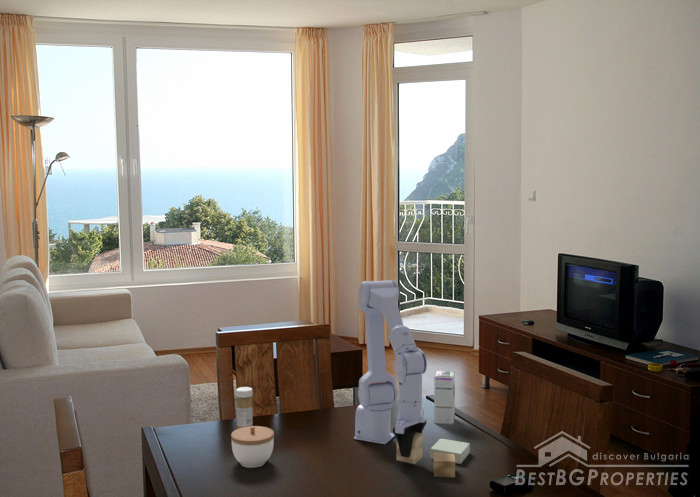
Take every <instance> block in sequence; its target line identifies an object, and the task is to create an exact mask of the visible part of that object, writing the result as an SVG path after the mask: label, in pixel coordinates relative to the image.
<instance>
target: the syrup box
mask: <svg viewBox="0 0 700 497" xmlns="http://www.w3.org/2000/svg"><path fill="white" fill-rule="evenodd" d="M455 377H456V376H455V371H450V370H435V373H434V377H433V379H434V380H433V382H434V385H433V386H434V388H433V389H434V390H433V393H434V394H433V395H434V397H433V400H434V401H433V403H434V404H433V405H434V407H433V409H434V410H433V412H434V414H433V415H434V420H433V421H434V423H435V424H440V425H441V424H442V425H454V424H455V423H454V422H455V418H456V416H455V415H456V414H455V412H456V410H455V408H456V407H455V405H456V404H455V403H456V402H455V401H456V400H455V399H456V398H455V396H456V391H455V385H456V384H455V383H456V382H455Z"/></svg>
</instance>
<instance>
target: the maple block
mask: <svg viewBox="0 0 700 497" xmlns="http://www.w3.org/2000/svg"><path fill="white" fill-rule="evenodd" d="M423 437H424V434H423V432H422V433H417V432H416V434H415V436H414V438H413V442H412V447H411V454H410V457H409V458H408V457H403V456H401V454H400V449H399V445H398V442H397V441H396V461H400V462H404V463H408V464H414V465H416V464H417V463H418V462H419V461H420V460H421V459H422V458H423V453H424V452H423V449H424V448H423V445H424V444H423V441H424V438H423Z"/></svg>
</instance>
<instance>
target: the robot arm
mask: <svg viewBox="0 0 700 497" xmlns="http://www.w3.org/2000/svg"><path fill="white" fill-rule="evenodd" d="M399 288H400V287H399V284H398V283H397V281H396V279H390V280H367V281H366V280H363V281H361V283H360V285H359V287H358V292H357V294H358V306H359V311H361V312H363V313H364V321H365V322H364V323H365V339H366V355H367V370H368V371H367V372H365V373H364V374H363V375H362V376H361V377H360V378H359V379H358V380H359V381H358V389H357V390H358V391H357V397H358V401H359V405H358V406H357V408H356V411H355V416H354V417H355V418H354V421H355V422H354V425H355V426H354V427H355V428H354V435H355V436H353V439H354V440H358V441H365V442H369V443H375V444H379V445H380V444H381V445H386V444H387V443H389V442H390V441H391V440H392V439H393V438H394V437H395V439H396V443H397V442H398V445H399V449H400V454H401V456H403V457H408V458H409V457H410V454H411V447H412V442H413V438H414V436H415V434H416V432H417V433H422V434H423V431H424V429H425V427H426V425H427V418H426V417H424V415H425V414H424V413H425V409H424V408H423V406H422V405H423V375H424V374H425V373H426V372H427V368H428V362H427V360H428V359H427V357H426V353H425V352H424V351H423V350H421V348H420V347H418V346H417V344H416V342H415V340H414V339H415V338H414V337H413V334H412V332H411V329H410V328H409V327H407V326H406V325H404V322H403V319H402V316H401V312H400V308H399V306H398V305H399V304H398V302H399V298H400V289H399ZM384 320H385V322H386V324H387V326H388V329H389V330H390V331H389V333H388V340H389V342H390V344H391V345H390V346H391V347H392V350H393V352H394V355H395V359H394V360H395V361H394V367H395V371H396V379H397V380H396V379H395V377H394V376H393V375H392V374H390V373H389V372H388V371H387V365H386V364H387V362H386V350H385V349H386V348H385V335H384V334H385V331H384ZM396 381H397V382H398V388H397V385H396ZM397 400H398V415H397V417H396V418H397V420H396V424H395V425H394V427H393V428H392V427H391V423H392V422H391V420H392V419H391V417H392V416H391V414H392V411H391V410H392V408H393V407H394V405H395V404H396V402H397ZM391 428H392V432H391Z"/></svg>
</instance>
